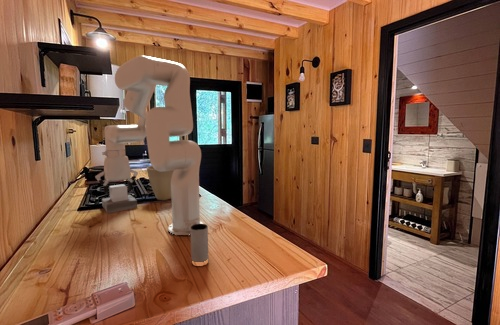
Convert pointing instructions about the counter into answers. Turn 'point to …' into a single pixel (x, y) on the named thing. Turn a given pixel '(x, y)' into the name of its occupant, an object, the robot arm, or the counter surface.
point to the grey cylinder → (199, 242)
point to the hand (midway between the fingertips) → (118, 192)
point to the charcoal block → (119, 204)
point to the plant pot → (160, 183)
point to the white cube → (118, 193)
